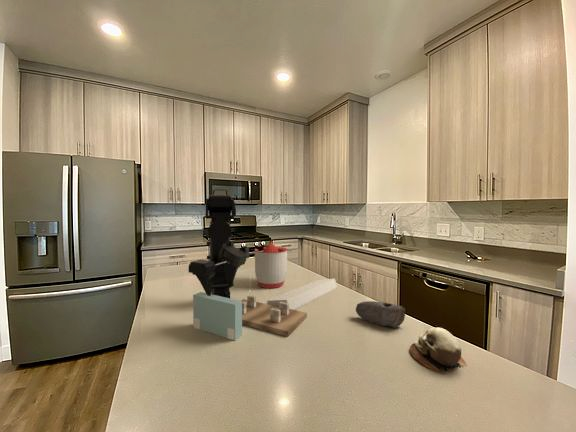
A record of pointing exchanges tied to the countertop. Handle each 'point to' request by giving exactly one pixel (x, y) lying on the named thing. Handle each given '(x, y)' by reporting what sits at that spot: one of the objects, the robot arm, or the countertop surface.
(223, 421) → the countertop surface
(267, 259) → the citrus juicer
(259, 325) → the wooden pegged board
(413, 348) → the skull
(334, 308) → the countertop surface
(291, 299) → the decorative molding
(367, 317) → the perforated stone tool
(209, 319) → the door
